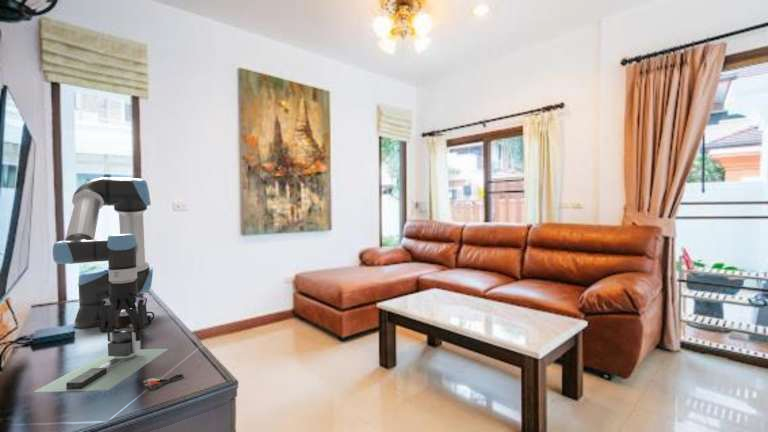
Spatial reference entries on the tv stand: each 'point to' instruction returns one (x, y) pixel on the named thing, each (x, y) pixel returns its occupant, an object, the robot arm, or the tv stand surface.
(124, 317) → the coffee mug
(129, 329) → the dark grey door knob
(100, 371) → the ratchet
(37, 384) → the tv stand surface
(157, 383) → the composite cable
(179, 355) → the tv stand surface
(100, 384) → the tool mat
